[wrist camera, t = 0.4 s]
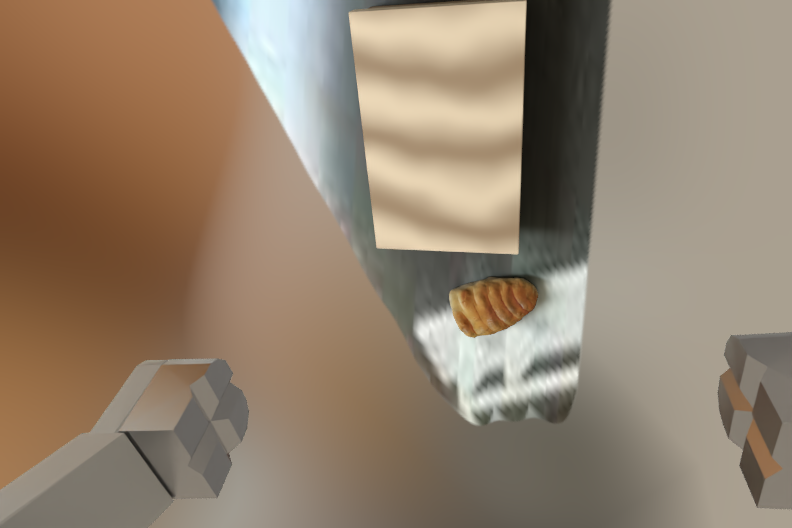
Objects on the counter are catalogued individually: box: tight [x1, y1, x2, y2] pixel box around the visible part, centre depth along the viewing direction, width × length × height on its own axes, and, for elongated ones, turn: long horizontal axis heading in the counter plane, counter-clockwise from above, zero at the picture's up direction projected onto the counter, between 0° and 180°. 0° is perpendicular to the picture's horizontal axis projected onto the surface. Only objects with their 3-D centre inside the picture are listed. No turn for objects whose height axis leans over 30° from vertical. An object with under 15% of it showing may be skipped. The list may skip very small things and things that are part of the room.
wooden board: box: [349, 0, 527, 254], centre depth 51 cm, size 22×14×5 cm, turn 5°
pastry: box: [449, 277, 538, 338], centre depth 61 cm, size 9×7×4 cm
